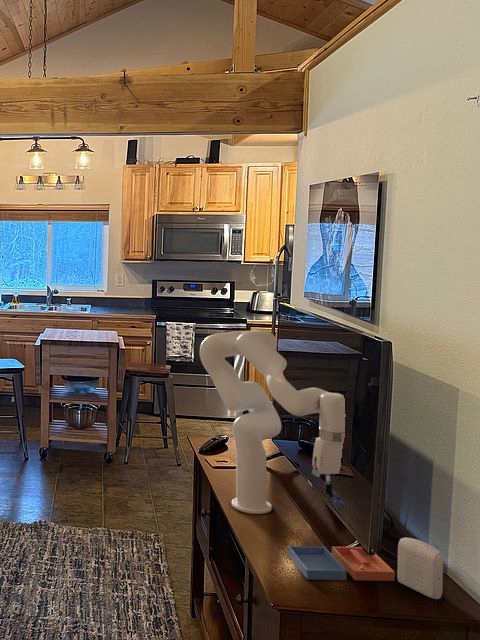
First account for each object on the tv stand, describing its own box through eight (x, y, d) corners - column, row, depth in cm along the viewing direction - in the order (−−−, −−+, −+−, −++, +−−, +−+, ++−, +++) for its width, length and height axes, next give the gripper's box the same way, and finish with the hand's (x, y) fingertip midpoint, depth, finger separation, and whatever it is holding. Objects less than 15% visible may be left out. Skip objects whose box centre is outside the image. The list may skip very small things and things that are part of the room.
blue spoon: (321, 493, 197) (321, 486, 197) (334, 493, 197) (334, 486, 197) (337, 508, 186) (337, 501, 186) (351, 508, 186) (351, 501, 186)
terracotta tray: (331, 555, 183) (331, 546, 183) (368, 555, 182) (368, 547, 182) (354, 580, 169) (354, 570, 169) (394, 581, 168) (394, 571, 168)
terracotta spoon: (345, 556, 181) (345, 549, 181) (359, 556, 181) (360, 549, 181) (364, 576, 170) (364, 568, 170) (379, 576, 170) (379, 568, 170)
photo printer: (445, 597, 160) (446, 548, 160) (434, 601, 159) (435, 551, 158) (405, 578, 170) (405, 531, 169) (394, 581, 168) (394, 535, 167)
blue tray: (287, 554, 184) (287, 545, 184) (324, 555, 183) (324, 546, 183) (307, 579, 170) (307, 570, 170) (346, 580, 169) (346, 570, 169)
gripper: (354, 431, 196) (353, 491, 197) (301, 431, 197) (300, 490, 198) (366, 439, 188) (365, 501, 190) (311, 438, 190) (310, 500, 191)
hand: (332, 495), depth 194 cm, fingers closed on blue spoon, 1 cm apart
